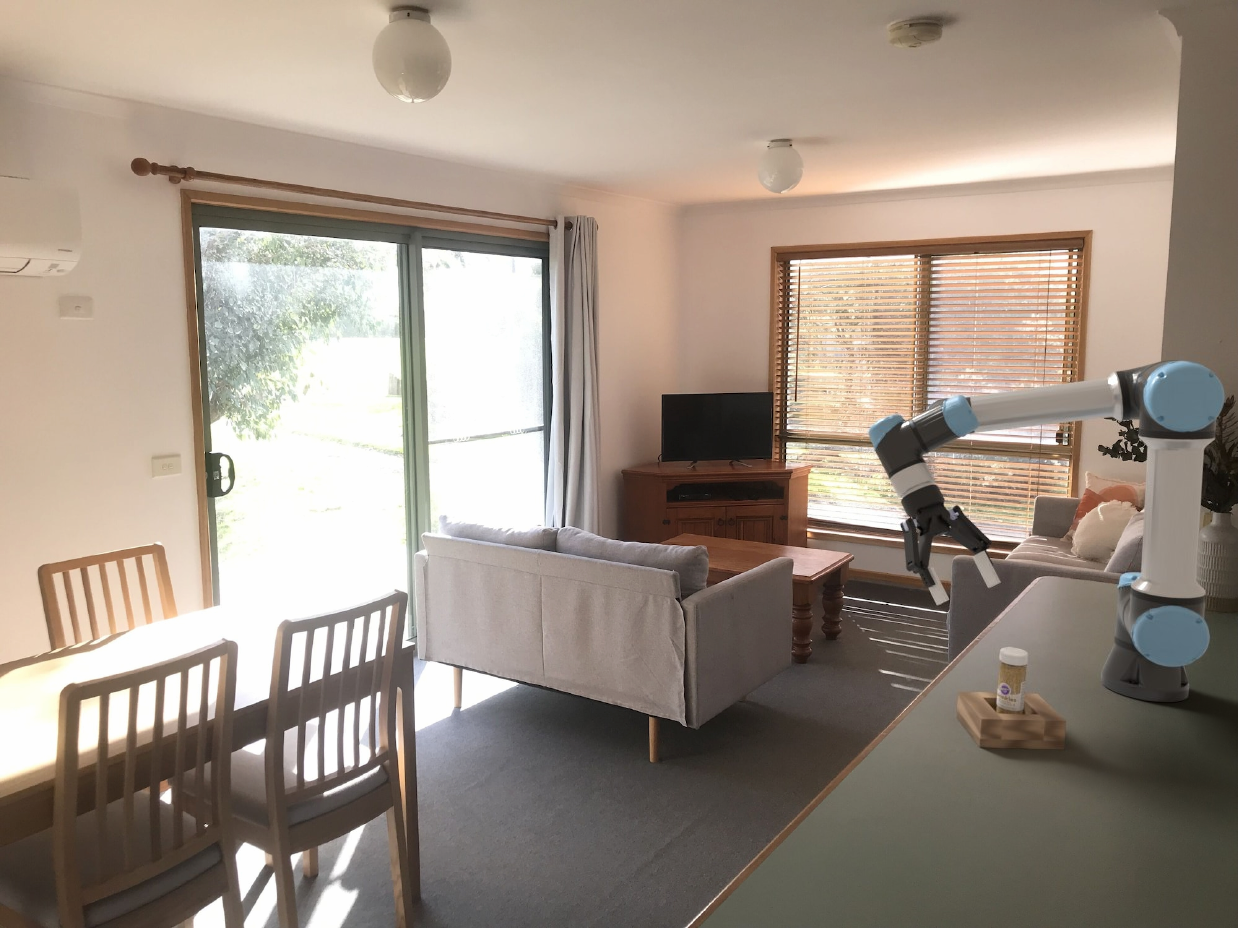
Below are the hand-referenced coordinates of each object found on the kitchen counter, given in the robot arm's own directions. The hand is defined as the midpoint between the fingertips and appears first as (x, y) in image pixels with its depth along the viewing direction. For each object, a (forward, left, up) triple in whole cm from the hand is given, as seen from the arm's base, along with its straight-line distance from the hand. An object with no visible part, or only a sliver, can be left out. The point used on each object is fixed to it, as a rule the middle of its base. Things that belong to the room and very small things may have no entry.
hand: (969, 593), depth 169 cm
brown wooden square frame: (-4, +12, -22) cm, 25 cm away
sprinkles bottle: (-4, +12, -20) cm, 24 cm away
